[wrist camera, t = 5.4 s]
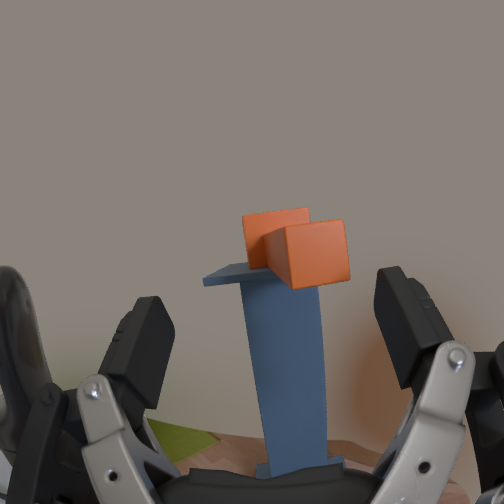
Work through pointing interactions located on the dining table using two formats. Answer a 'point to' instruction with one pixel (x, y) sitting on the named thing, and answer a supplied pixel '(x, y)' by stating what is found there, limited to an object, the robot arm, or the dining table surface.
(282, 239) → the orange toy mallet
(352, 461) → the dining table surface
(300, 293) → the stand
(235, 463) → the dining table surface
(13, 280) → the robot arm
